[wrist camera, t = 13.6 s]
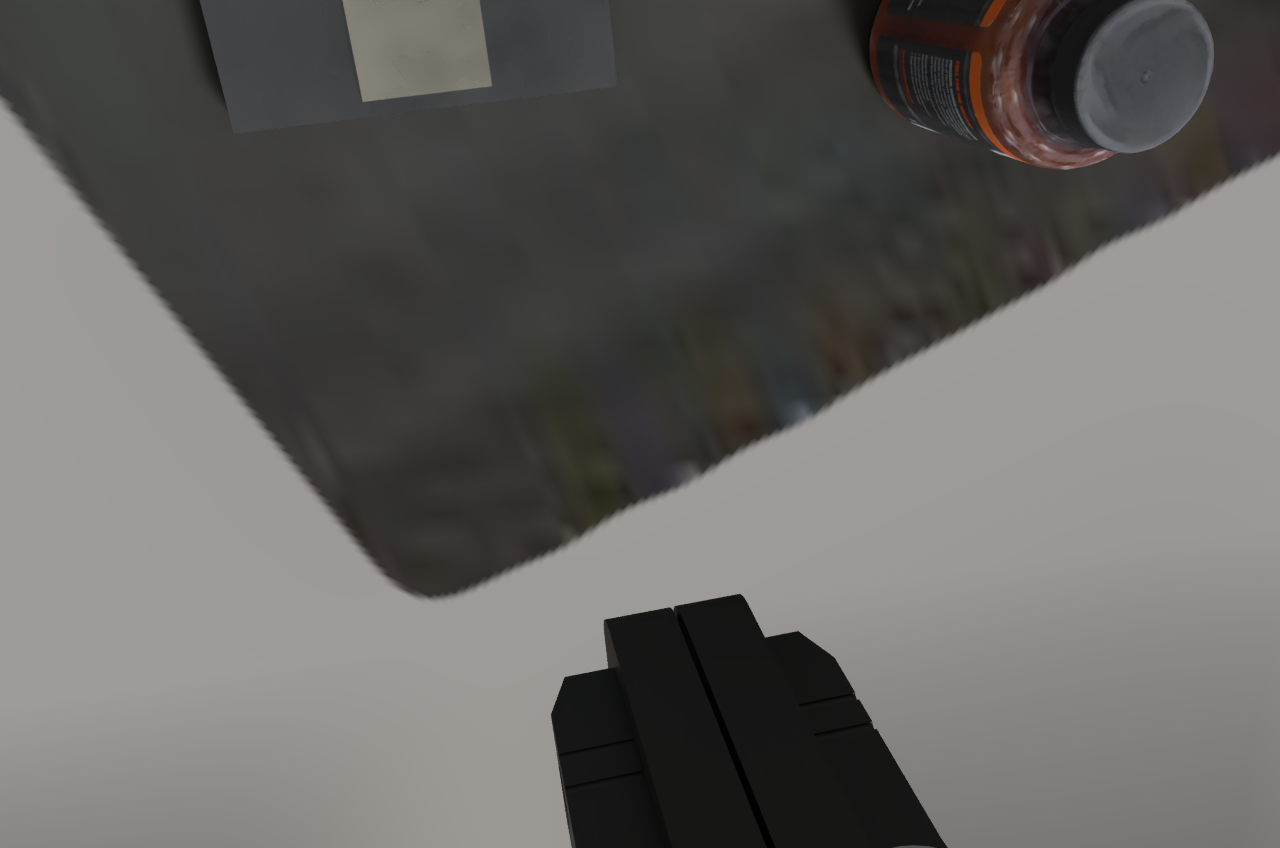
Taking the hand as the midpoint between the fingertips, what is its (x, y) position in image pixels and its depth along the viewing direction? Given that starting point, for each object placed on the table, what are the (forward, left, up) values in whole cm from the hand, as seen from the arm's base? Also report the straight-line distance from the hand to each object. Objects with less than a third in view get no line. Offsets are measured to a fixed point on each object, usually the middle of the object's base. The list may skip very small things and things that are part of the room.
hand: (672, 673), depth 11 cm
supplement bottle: (-16, -2, -28) cm, 32 cm away
